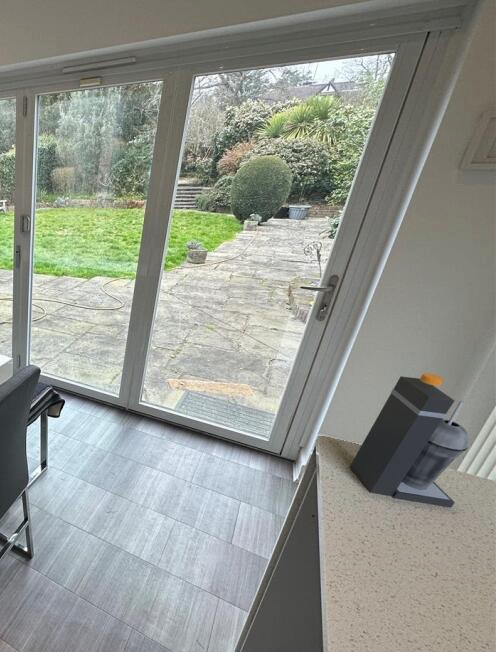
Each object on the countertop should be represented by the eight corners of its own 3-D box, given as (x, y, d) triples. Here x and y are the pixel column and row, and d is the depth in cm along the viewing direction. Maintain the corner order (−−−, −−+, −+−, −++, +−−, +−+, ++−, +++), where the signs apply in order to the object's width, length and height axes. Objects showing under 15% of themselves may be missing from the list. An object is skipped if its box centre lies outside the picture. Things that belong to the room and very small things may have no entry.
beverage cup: (394, 486, 86) (445, 407, 76) (385, 465, 91) (432, 389, 82) (441, 500, 82) (500, 419, 73) (429, 478, 88) (483, 400, 79)
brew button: (433, 379, 78) (436, 374, 78) (444, 386, 76) (447, 381, 75) (416, 377, 79) (419, 372, 78) (426, 384, 77) (429, 379, 76)
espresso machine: (420, 476, 90) (482, 384, 80) (451, 507, 83) (525, 410, 72) (347, 465, 93) (398, 374, 82) (371, 494, 85) (430, 398, 75)
